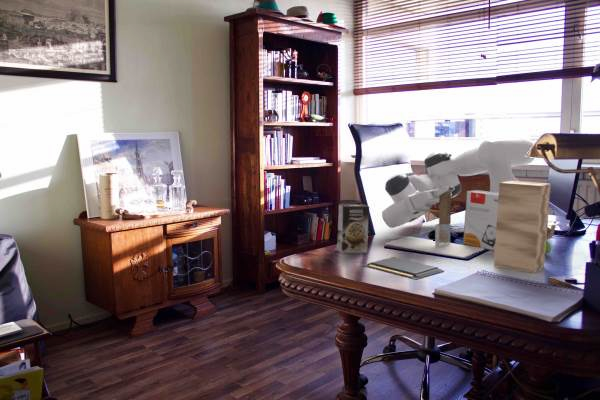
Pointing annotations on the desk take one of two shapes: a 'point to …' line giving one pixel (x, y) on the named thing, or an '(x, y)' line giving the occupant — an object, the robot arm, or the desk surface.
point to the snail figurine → (549, 235)
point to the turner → (443, 220)
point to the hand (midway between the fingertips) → (450, 187)
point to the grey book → (404, 268)
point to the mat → (429, 246)
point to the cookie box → (353, 228)
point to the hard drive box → (481, 219)
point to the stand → (522, 225)
